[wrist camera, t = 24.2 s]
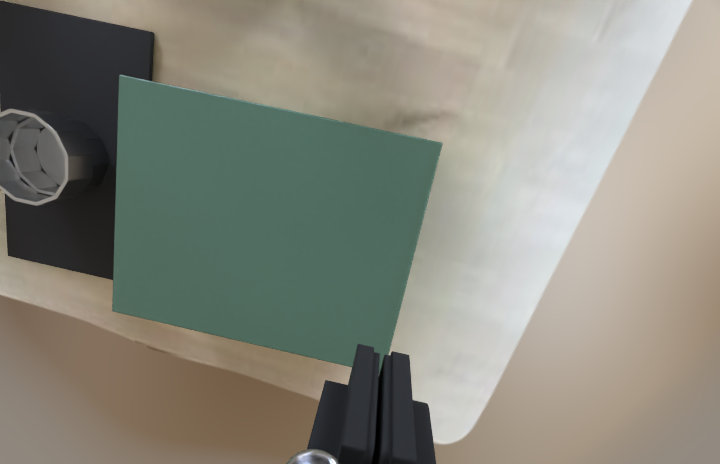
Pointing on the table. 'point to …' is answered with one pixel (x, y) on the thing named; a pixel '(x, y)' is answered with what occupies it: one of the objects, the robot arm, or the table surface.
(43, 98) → the mat
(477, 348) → the table surface
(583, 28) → the table surface
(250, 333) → the lid
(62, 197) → the bowl
